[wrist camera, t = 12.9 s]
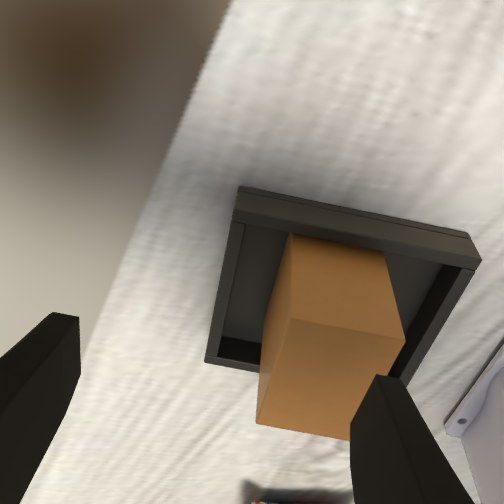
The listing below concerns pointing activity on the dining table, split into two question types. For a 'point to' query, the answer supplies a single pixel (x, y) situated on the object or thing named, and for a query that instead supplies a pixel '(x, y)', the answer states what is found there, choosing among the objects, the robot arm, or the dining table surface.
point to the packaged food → (263, 503)
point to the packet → (325, 336)
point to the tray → (343, 231)
